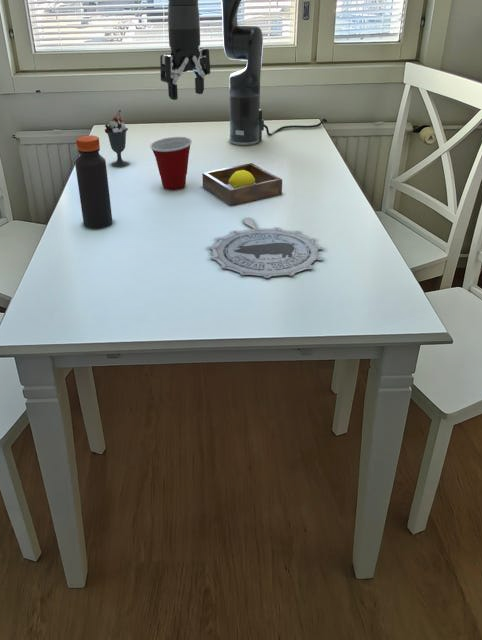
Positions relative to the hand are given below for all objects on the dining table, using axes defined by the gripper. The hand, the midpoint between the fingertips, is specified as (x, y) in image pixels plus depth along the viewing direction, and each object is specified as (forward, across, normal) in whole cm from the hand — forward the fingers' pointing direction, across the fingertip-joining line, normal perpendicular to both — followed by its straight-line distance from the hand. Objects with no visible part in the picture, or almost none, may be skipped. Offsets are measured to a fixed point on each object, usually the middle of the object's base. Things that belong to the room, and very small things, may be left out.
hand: (186, 96), depth 160 cm
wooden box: (+22, +4, -15) cm, 27 cm away
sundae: (+22, -4, +26) cm, 34 cm away
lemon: (+22, +4, -15) cm, 27 cm away
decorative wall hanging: (+22, -16, -42) cm, 50 cm away
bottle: (+22, -34, -6) cm, 41 cm away
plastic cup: (+22, -6, 0) cm, 23 cm away
